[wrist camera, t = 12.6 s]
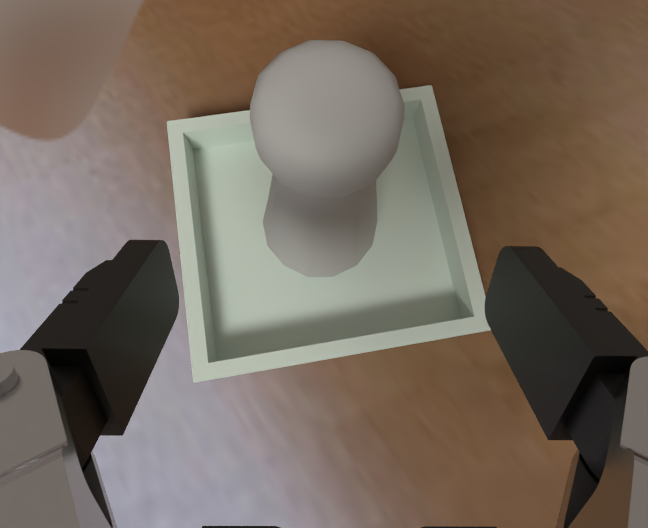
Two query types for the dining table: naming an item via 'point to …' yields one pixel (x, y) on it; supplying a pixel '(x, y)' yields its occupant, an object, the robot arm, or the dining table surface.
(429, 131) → the tray
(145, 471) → the dining table surface
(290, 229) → the salt shaker
